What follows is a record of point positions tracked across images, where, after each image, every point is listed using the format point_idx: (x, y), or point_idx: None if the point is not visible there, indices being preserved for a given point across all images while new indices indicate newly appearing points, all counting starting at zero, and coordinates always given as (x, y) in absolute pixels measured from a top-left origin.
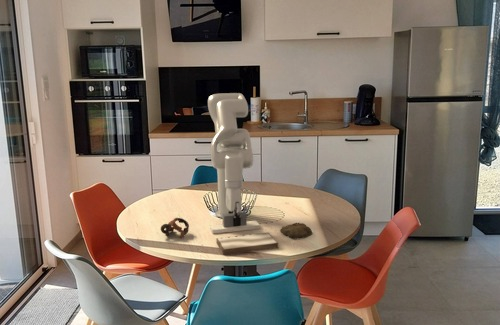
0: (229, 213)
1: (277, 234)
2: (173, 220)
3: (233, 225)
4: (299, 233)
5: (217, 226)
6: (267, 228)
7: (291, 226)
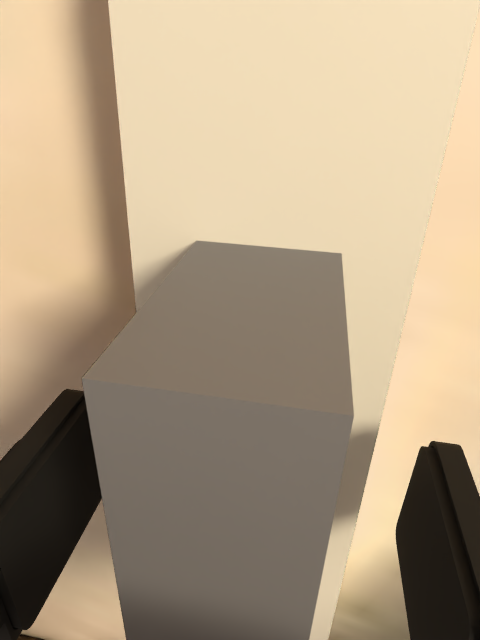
0: (457, 594)
1: None
2: None
3: (60, 396)
4: None
5: (312, 117)
6: None
7: None
